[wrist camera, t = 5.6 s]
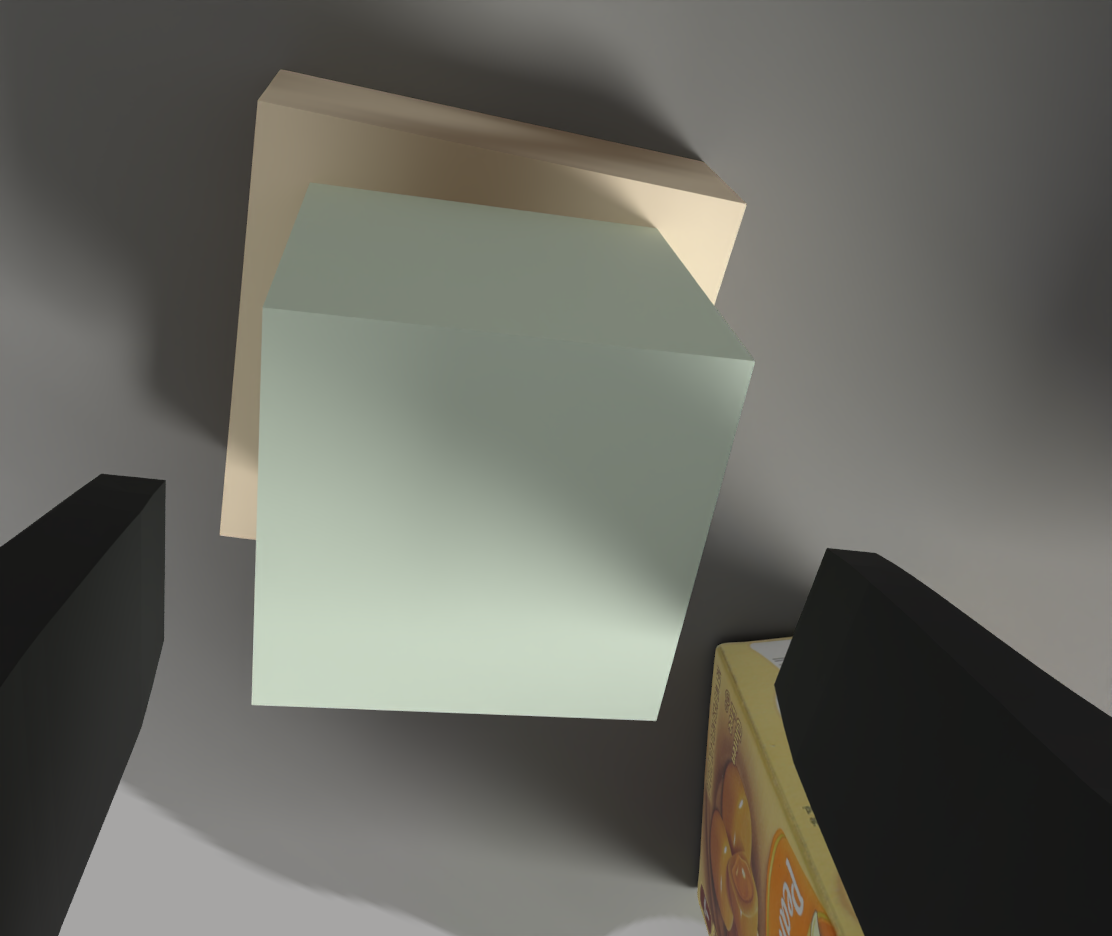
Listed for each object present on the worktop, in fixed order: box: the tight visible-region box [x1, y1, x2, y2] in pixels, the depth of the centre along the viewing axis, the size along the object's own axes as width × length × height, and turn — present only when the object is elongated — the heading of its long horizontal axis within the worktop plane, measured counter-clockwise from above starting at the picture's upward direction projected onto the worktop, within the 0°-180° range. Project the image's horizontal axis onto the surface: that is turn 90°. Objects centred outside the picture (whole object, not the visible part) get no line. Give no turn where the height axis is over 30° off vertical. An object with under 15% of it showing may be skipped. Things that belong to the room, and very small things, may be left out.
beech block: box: [220, 69, 747, 540], centre depth 17 cm, size 7×7×3 cm
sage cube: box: [252, 182, 755, 721], centre depth 13 cm, size 5×5×5 cm
